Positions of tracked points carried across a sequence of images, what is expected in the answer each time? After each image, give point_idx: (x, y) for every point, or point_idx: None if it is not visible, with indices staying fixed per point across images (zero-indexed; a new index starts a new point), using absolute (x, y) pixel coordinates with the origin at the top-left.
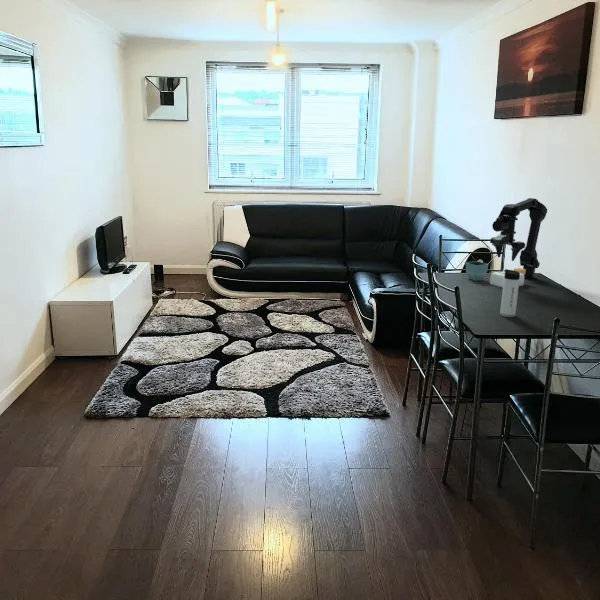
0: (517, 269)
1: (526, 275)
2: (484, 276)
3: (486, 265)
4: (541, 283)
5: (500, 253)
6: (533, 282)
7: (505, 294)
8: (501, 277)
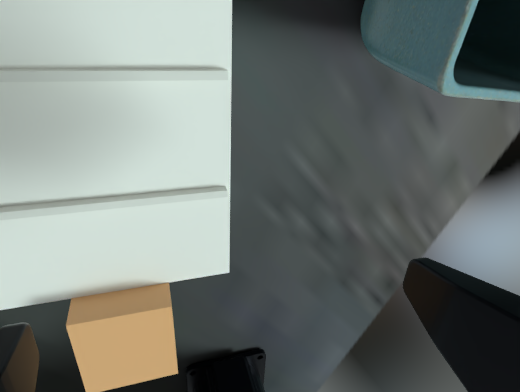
0: (121, 321)
1: (213, 378)
2: (363, 34)
3: (443, 39)
4: (53, 382)
5: (457, 349)
6: None
7: None
8: None
